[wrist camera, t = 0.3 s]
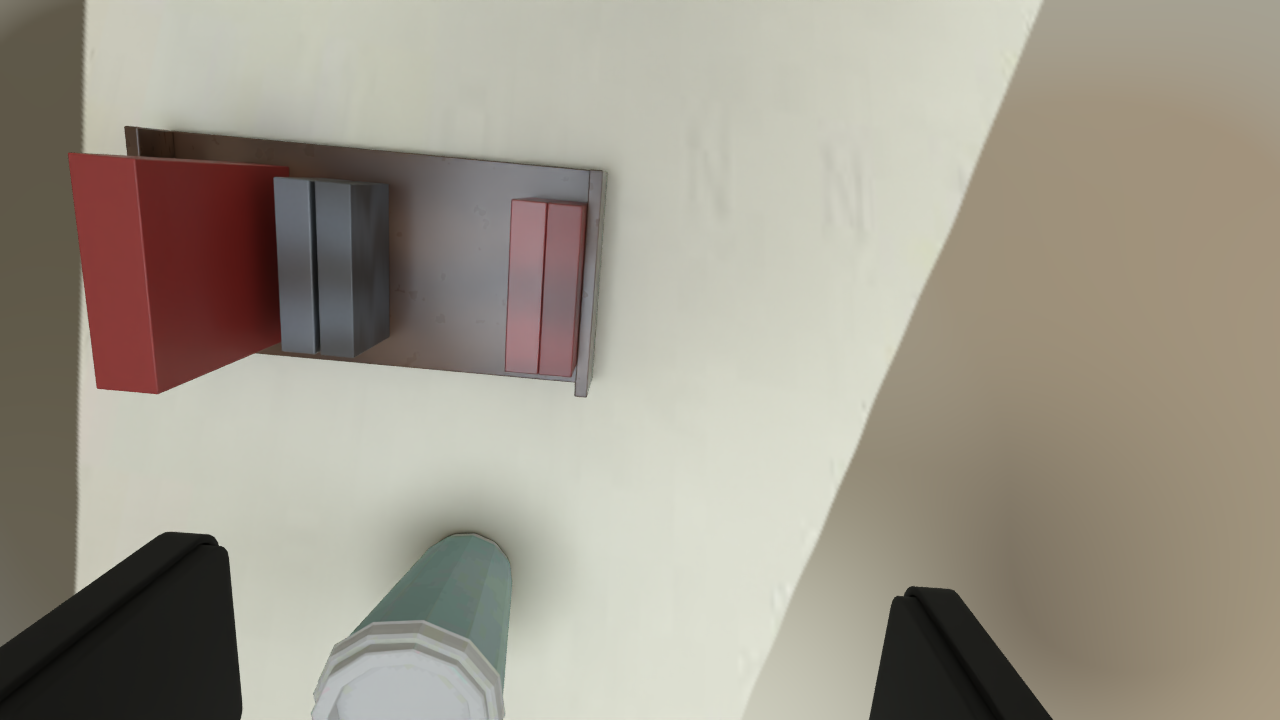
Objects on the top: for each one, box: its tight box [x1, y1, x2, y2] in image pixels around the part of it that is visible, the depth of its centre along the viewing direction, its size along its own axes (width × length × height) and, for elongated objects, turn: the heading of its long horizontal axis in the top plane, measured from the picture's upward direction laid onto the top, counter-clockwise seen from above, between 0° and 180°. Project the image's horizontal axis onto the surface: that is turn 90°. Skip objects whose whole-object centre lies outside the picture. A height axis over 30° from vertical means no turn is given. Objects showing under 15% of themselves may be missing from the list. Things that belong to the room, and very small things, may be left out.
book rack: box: [124, 126, 608, 397], centre depth 41 cm, size 14×28×7 cm, turn 85°
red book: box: [68, 153, 289, 394], centre depth 37 cm, size 11×3×13 cm, turn 175°
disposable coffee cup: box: [311, 533, 512, 720], centre depth 43 cm, size 11×11×15 cm
